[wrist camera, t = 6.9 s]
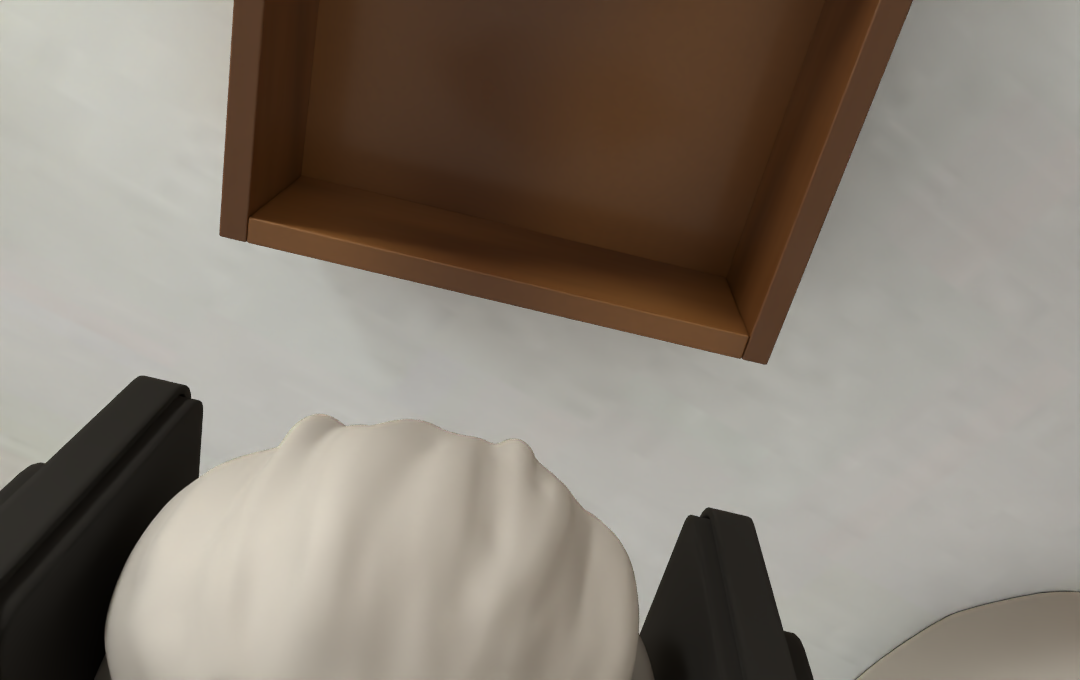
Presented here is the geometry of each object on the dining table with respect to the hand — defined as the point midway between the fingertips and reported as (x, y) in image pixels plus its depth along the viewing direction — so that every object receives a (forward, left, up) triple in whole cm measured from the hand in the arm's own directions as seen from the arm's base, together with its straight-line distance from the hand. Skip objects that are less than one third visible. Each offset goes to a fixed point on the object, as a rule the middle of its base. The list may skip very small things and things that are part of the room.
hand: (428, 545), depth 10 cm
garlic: (0, 0, -1) cm, 1 cm away
